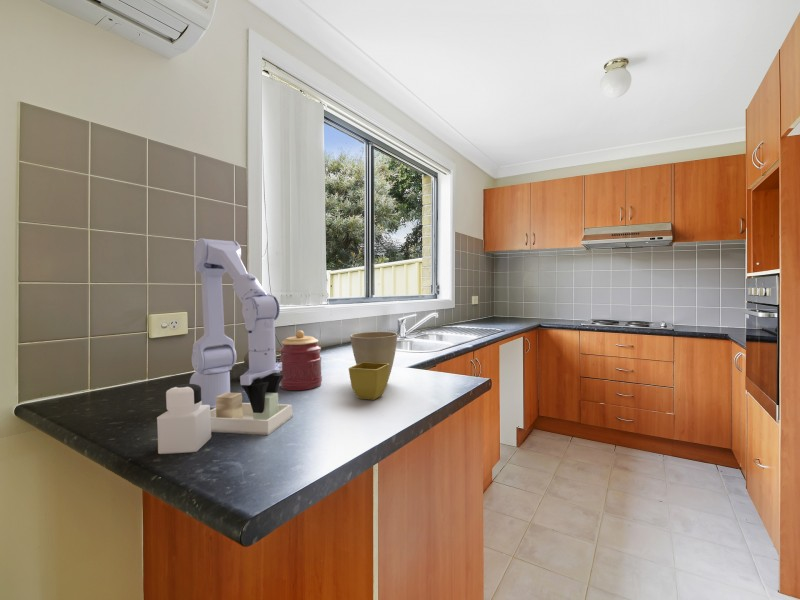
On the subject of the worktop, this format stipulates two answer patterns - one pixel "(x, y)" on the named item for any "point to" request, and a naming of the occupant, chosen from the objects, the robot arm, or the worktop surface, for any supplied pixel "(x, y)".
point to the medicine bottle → (183, 421)
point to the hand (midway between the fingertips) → (263, 408)
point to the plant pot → (374, 347)
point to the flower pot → (369, 379)
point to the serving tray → (251, 421)
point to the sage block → (268, 407)
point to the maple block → (229, 405)
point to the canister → (300, 362)
